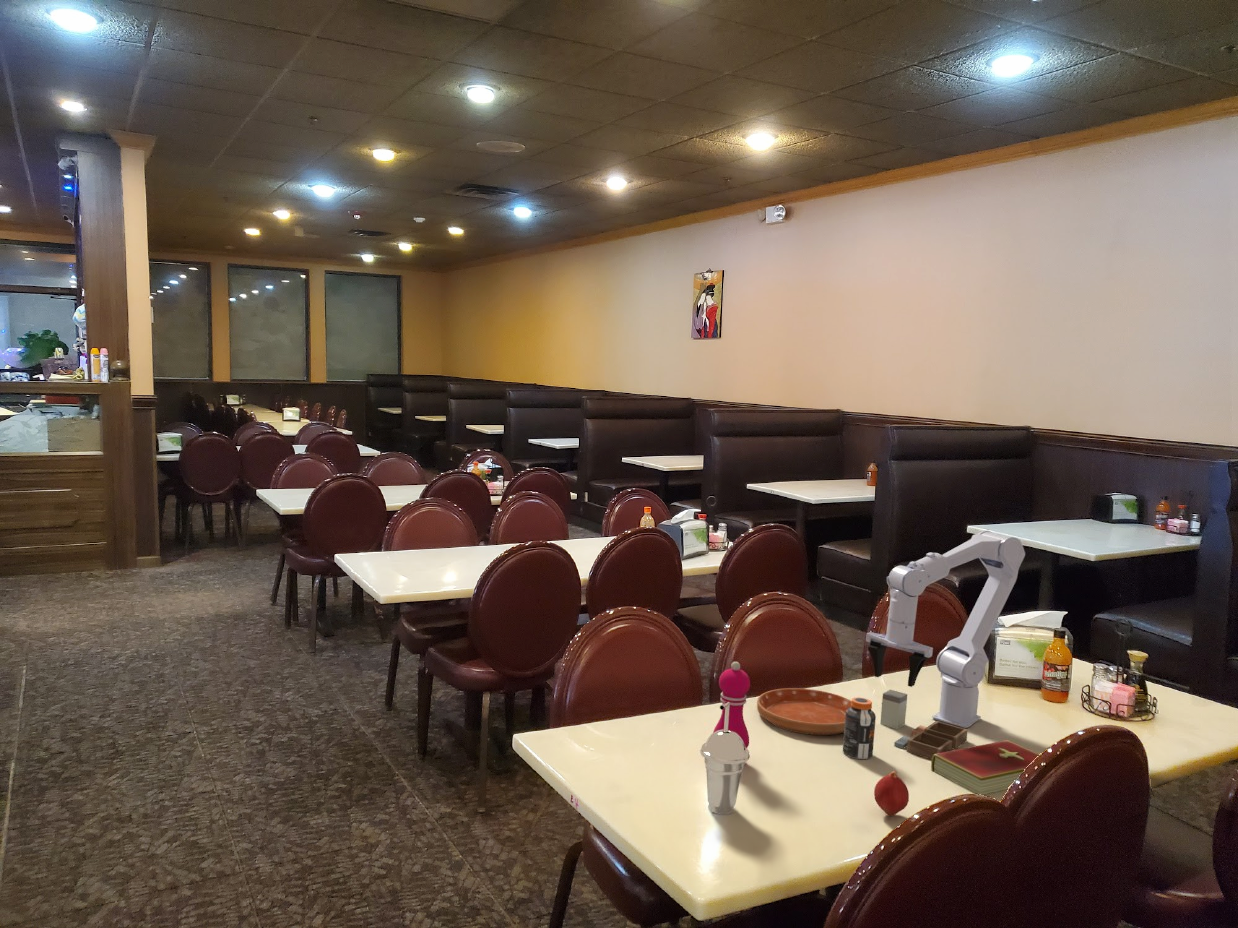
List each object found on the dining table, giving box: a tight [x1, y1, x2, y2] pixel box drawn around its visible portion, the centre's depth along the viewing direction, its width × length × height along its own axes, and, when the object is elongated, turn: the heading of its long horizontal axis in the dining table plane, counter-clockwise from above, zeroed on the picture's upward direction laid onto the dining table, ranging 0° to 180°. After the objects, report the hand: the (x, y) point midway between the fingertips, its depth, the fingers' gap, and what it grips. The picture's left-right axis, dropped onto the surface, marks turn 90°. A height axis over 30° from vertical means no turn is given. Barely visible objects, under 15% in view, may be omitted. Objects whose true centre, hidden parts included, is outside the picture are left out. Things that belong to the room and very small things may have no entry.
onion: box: [873, 771, 910, 817], centre depth 156 cm, size 6×6×8 cm
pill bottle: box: [842, 696, 877, 760], centre depth 182 cm, size 6×6×11 cm
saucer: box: [756, 687, 852, 736], centre depth 201 cm, size 23×23×4 cm
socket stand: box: [893, 720, 968, 760], centre depth 190 cm, size 16×10×2 cm, turn 140°
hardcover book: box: [930, 739, 1040, 796], centre depth 176 cm, size 12×21×4 cm, turn 117°
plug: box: [879, 689, 908, 730], centre depth 201 cm, size 4×4×7 cm
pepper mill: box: [712, 661, 751, 765], centre depth 175 cm, size 7×7×20 cm
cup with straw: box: [699, 701, 751, 815], centre depth 155 cm, size 8×9×20 cm
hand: (894, 680), depth 199 cm, fingers open, 7 cm apart
